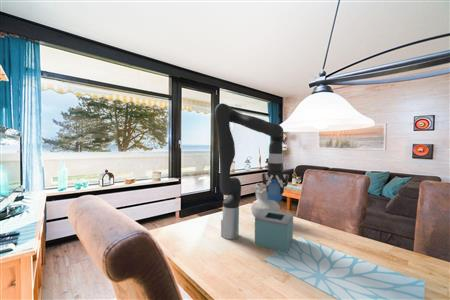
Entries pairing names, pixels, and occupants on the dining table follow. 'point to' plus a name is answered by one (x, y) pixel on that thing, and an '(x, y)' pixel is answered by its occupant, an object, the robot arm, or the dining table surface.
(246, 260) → the dining table surface
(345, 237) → the dining table surface
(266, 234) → the box
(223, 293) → the dining table surface
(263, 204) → the ceramic pitcher
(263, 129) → the robot arm
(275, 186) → the perfume bottle
